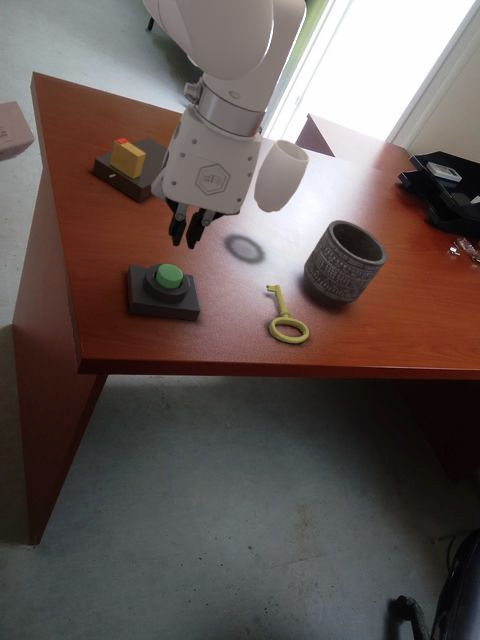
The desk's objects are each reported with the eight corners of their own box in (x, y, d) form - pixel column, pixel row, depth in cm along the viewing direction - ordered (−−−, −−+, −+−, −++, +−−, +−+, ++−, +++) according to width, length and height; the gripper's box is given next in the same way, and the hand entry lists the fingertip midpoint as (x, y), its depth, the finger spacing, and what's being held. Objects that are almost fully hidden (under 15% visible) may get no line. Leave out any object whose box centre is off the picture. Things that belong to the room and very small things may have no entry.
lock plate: (130, 207, 82) (134, 191, 80) (83, 177, 82) (85, 161, 79) (185, 175, 97) (189, 161, 95) (145, 150, 97) (149, 136, 95)
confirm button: (156, 287, 65) (159, 278, 64) (154, 270, 68) (157, 261, 66) (180, 291, 67) (184, 282, 66) (177, 274, 69) (181, 266, 68)
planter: (309, 263, 95) (341, 212, 86) (357, 298, 94) (394, 249, 85) (285, 286, 85) (318, 231, 77) (338, 325, 84) (377, 274, 76)
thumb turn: (140, 175, 84) (146, 152, 81) (132, 179, 82) (138, 155, 79) (117, 161, 84) (122, 136, 81) (109, 164, 82) (114, 139, 79)
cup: (220, 244, 86) (265, 141, 72) (239, 232, 91) (284, 134, 77) (250, 266, 85) (301, 167, 71) (268, 253, 90) (318, 158, 77)
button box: (129, 313, 65) (135, 292, 62) (126, 275, 70) (132, 255, 67) (196, 321, 70) (204, 302, 67) (189, 285, 74) (196, 266, 72)
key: (273, 290, 83) (278, 282, 82) (310, 341, 78) (316, 333, 77) (242, 294, 79) (247, 285, 77) (280, 348, 74) (285, 340, 72)
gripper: (162, 101, 44) (124, 248, 57) (298, 147, 52) (239, 269, 64) (156, 70, 49) (122, 212, 61) (282, 116, 56) (229, 235, 68)
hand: (182, 240), depth 62 cm, fingers closed
